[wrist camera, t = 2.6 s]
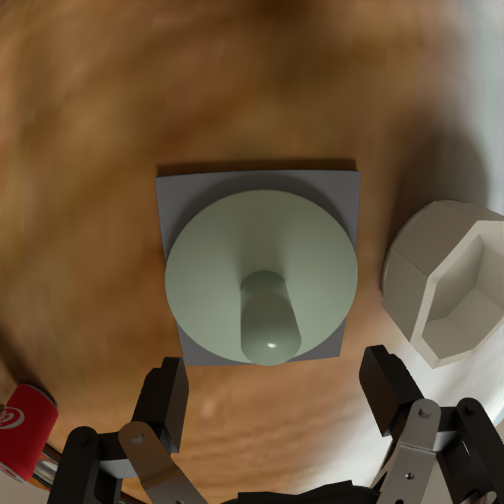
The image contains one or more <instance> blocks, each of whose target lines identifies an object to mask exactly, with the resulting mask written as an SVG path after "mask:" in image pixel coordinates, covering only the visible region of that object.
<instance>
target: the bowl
mask: <svg viewBox="0 0 504 504" xmlns="http://www.w3.org/2000/svg"><path fill="white" fill-rule="evenodd" d="M381 291H382V297H383V299H382V306H383V307H384V308H385V310H386V311H387V312H388V314H389V315H390V316H391V318H392V319H393V320H394V322H395V323H396V325H397V326H398V327H399V329H400V330H401V331H402V333H403V334H404V336H405V337H406V338H407V340H408V341H409V343H410V344H411V345H412V346H413V347H414V348H415V349H416V351H417V352H418V353H419V354H420V355H421V356H422V357H423V359H424V360H425V361H426V362H427V363H428V364H429V366H430V367H431V368H432V369H434V368H437V367H441V366H444V365H447V364H450V363H453V362H456V361H459V360H462V359H465V358H468V357H471V356H473V355H474V354H475V353H476V352H477V351H478V350H479V349H480V348H481V347H482V346H483V345H484V344H485V343H486V342H487V341H488V340H489V338H490V337H491V336H492V335H493V334H494V333H495V332H496V331H497V330H498V328H499V327H500V326H501V325H502V324H503V323H504V216H503V215H500V214H498V213H496V212H494V211H491V210H489V209H487V208H484V207H482V206H480V205H477V204H475V203H462V202H458V201H456V200H450V199H448V200H439V201H433V202H432V203H430V204H428V205H426V206H424V207H422V208H421V209H420V210H418V211H417V212H416V213H414V214H413V215H412V216H411V217H410V218H409V219H408V220H407V221H406V222H405V224H404V225H403V226H402V227H401V229H400V230H399V232H398V233H397V234H396V236H395V238H394V240H393V241H392V243H391V245H390V248H389V250H388V252H387V255H386V258H385V261H384V265H383V269H382V276H381Z"/></svg>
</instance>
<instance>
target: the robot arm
mask: <svg viewBox="0 0 504 504" xmlns="http://www.w3.org/2000/svg"><path fill="white" fill-rule="evenodd" d="M359 380H360V384H361V386H362V389H363V391H364V393H365V396H366V398H367V401H368V403H369V405H370V408H371V410H372V413H373V415H374V418H375V420H376V423H377V425H378V428H379V430H380V433H381V435H382V437H385V436H389V435H391V436H392V439H393V440H392V441H391V443H390V446H389V448H388V451H387V453H386V456H385V458H384V460H383V463H382V465H381V467H380V469H379V471H378V474H377V475H376V477H375V479H374V480H373V482H372V484H371V485H370V487H369V488H368V487H364V486H356V485H353V484H352V480H348V481H343V482H338V483H333V484H327V485H323V486H321V487H318V488H316V489H313V490H310V491H307V492H305V493H302V494H298V495H291V494H282V493H274V492H238V498H236V499H232V500H229V501H226V502H223V503H221V504H421V502H422V499H423V496H424V493H425V490H426V488H427V485H428V481H429V478H430V475H431V472H432V468H433V465H434V461H435V457H436V458H437V461H438V463H439V466H440V469H441V471H442V474H443V477H444V480H445V482H446V485H447V488H448V491H449V494H450V497H451V500H452V503H453V504H504V444H503V442H502V441H501V438H500V436H499V435H498V433H497V431H496V429H495V427H494V426H493V424H492V422H491V420H490V419H489V417H488V415H487V413H486V412H485V410H484V408H483V407H482V405H481V404H480V402H479V401H477V400H476V399H474V398H463V399H462V400H460V401H459V403H458V404H457V406H455V407H439V405H438V404H437V403H436V402H434V401H432V400H430V399H425V398H424V396H423V395H422V393H421V391H420V390H419V388H418V386H417V385H416V383H415V381H414V380H413V378H412V376H410V373H409V371H408V370H407V369H406V366H405V365H404V363H403V362H402V360H401V359H400V358H398V357H397V356H396V355H394V354H389V353H388V351H387V350H386V348H385V347H384V345H376V346H369V347H366V349H365V352H364V356H363V360H362V363H361V367H360V371H359ZM188 394H189V383H188V378H187V374H186V370H185V366H184V362H183V358H182V357H165V358H164V360H163V363H162V366H161V368H153V369H152V370H151V371H150V372H149V373H148V374H147V375H146V378H145V381H144V384H143V387H142V390H141V394H140V396H139V399H138V402H137V405H136V408H135V411H134V414H133V417H132V420H131V422H130V423H127V424H125V425H124V426H123V427H122V428H121V429H120V431H118V432H113V433H103V434H97V432H96V431H95V430H94V429H92V428H90V427H87V426H81V427H77V428H75V429H74V430H72V431H71V432H70V434H69V436H68V438H67V441H66V444H65V447H64V450H63V452H62V455H61V458H60V461H59V464H58V467H57V471H56V474H55V477H54V480H53V484H52V487H51V490H50V494H49V498H48V501H47V504H119V499H120V493H121V487H122V481H123V478H129V477H139V479H140V481H141V482H140V483H141V485H142V487H143V489H144V490H145V492H146V494H147V495H148V497H149V498H150V500H151V501H152V503H153V504H208V503H207V502H206V500H205V499H204V498H203V497H202V496H201V494H200V493H199V492H198V491H197V490H196V488H195V487H194V486H193V485H192V483H191V482H190V481H189V480H188V478H187V477H186V476H185V474H184V473H183V472H182V470H181V469H180V468H179V467H178V466H177V465H176V464H175V463H174V461H173V460H172V458H171V457H170V455H171V453H179V448H180V442H181V436H182V430H183V423H184V417H185V412H186V406H187V400H188ZM463 442H464V443H463ZM464 444H465V445H464ZM465 446H466V447H465ZM466 448H467V449H466ZM467 450H468V452H469V454H468V452H467ZM469 455H470V456H469Z"/></svg>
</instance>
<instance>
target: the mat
mask: <svg viewBox="0 0 504 504" xmlns="http://www.w3.org/2000/svg"><path fill="white" fill-rule="evenodd" d="M360 173H361V172H360V171H356V170H319V169H281V170H244V171H223V172H206V173H192V174H180V175H169V176H159V177H156V178H155V183H156V193H157V203H158V211H159V220H160V228H161V235H162V243H163V249H164V256H165V263H166V266H167V261H168V257H169V255H170V252H171V249H172V247H173V245H174V243H175V241H176V239H177V238H178V236H179V234H180V233H181V231H182V230H183V228H184V227H185V226H186V224H187V223H188V222H189V221H190V220H191V219H192V218H193V217H194V216H195V215H196V214H197V213H198V212H199V211H200V210H202V209H203V208H204V207H206V206H207V205H209V204H210V203H212V202H214V201H216V200H218V199H219V198H222V197H224V196H227V195H229V194H232V193H235V192H240V191H244V190H250V189H260V188H262V189H278V190H283V191H288V192H292V193H295V194H298V195H301V196H303V197H305V198H307V199H309V200H311V201H313V202H314V203H316V204H317V205H319V206H320V207H322V208H323V209H324V210H325V211H326V212H328V213H329V214H330V215H331V216H332V217H333V218H334V219H335V220H336V221H337V222H338V223H339V224H340V226H341V227H342V228H343V230H344V231H345V232H346V234H347V236H348V238H349V239H350V241H351V244H352V246H353V249H354V252H355V247H356V237H357V225H358V212H359V196H360ZM346 316H347V315H346ZM345 322H346V317H345V318H344V320H343V321H342V323H341V324H340V325H339V326H338V328H337V329H336V330H335V331H334V332H333V333H332V334H331V335H330V336H329V337H328V338H327V339H325V340H324V341H323V342H322V343H320V344H319V345H317V346H316V347H314V348H313V349H311V350H309V351H307V352H305V353H303V354H301V355H298V356H296V357H293V358H291V359H290V360H288V361H286V362H292V361H303V360H313V359H322V358H330V357H338V356H339V355H340V350H341V344H342V339H343V334H344V328H345ZM176 324H177V328H178V333H179V338H180V342H181V347H182V351H183V356H184V360H185V364H186V365H246V364H256V363H246V362H239V361H234V360H230V359H227V358H224V357H221V356H219V355H216V354H214V353H212V352H210V351H208V350H207V349H205V348H203V347H202V346H200V345H199V344H198V343H196V342H195V341H194V340H193V339H191V338H190V337H189V336H188V335H187V334H186V333H185V331H184V330H183V329H182V328H181V326H180V325H179V324H178V322H177V320H176Z"/></svg>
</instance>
